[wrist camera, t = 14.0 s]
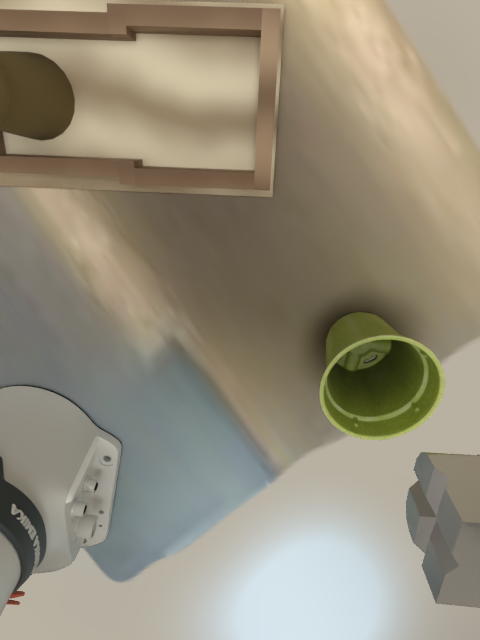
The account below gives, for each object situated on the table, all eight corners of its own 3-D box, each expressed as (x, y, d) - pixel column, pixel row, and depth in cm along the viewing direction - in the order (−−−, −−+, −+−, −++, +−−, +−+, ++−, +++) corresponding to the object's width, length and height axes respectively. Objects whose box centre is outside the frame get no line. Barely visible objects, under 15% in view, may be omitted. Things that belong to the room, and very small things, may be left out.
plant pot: (427, 350, 41) (467, 402, 33) (343, 399, 44) (361, 459, 36) (376, 274, 39) (405, 311, 31) (288, 332, 41) (295, 380, 33)
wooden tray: (272, 195, 36) (273, 201, 33) (-35, 182, 37) (-63, 187, 34) (283, 7, 31) (286, -7, 28) (-73, -4, 32) (-111, -19, 29)
